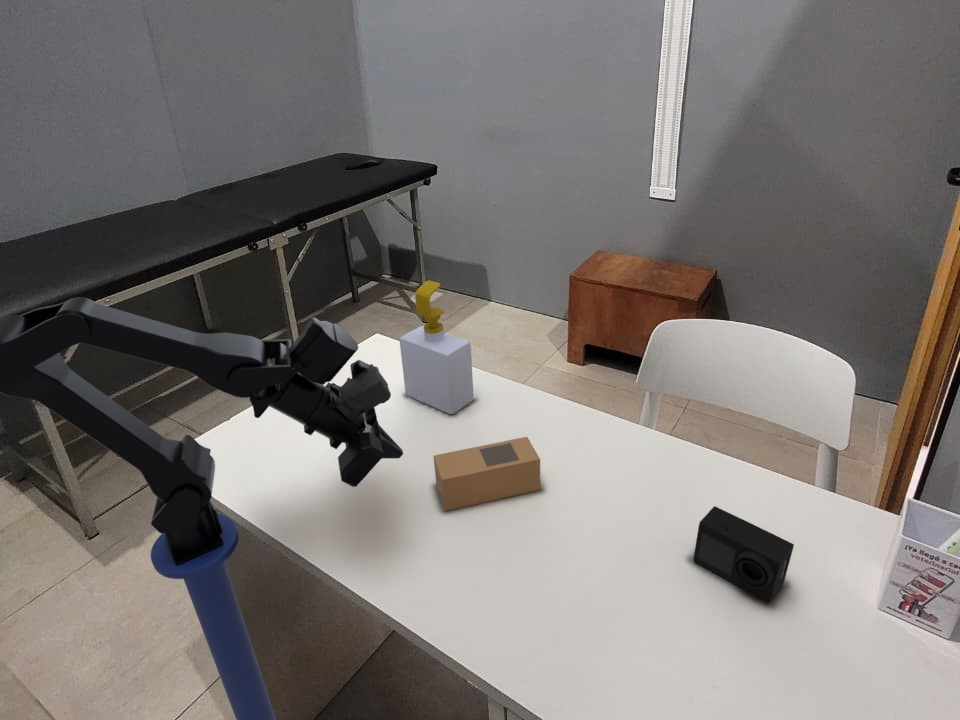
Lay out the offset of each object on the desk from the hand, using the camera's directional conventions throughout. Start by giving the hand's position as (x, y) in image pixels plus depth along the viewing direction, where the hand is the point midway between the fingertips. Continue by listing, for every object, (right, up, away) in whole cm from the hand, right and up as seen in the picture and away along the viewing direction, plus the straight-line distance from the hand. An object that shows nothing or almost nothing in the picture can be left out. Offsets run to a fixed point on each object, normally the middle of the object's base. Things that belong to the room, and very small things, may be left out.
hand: (401, 454), depth 93 cm
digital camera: (+44, -14, -9) cm, 47 cm away
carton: (+5, -5, +4) cm, 8 cm away
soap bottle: (+4, +6, +31) cm, 31 cm away
